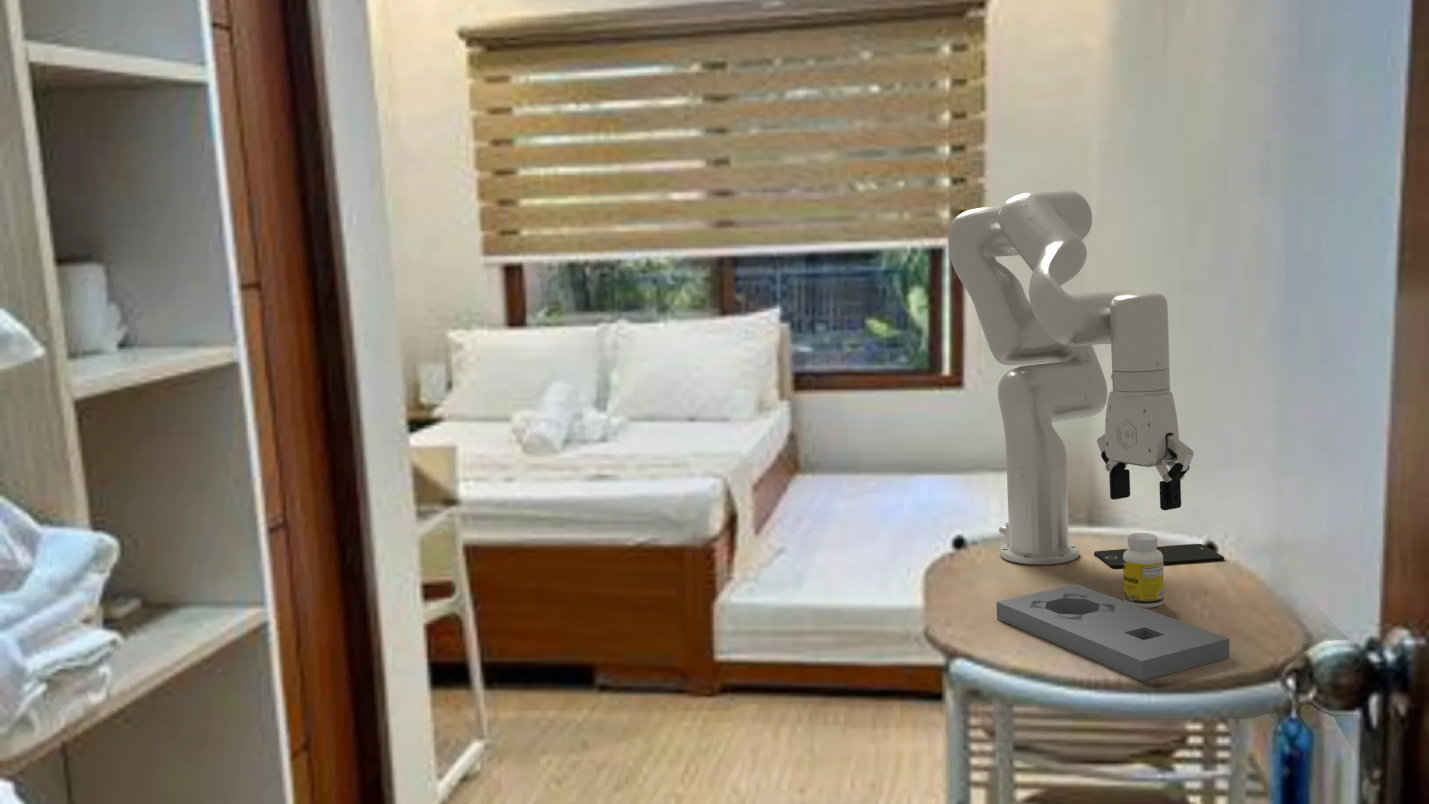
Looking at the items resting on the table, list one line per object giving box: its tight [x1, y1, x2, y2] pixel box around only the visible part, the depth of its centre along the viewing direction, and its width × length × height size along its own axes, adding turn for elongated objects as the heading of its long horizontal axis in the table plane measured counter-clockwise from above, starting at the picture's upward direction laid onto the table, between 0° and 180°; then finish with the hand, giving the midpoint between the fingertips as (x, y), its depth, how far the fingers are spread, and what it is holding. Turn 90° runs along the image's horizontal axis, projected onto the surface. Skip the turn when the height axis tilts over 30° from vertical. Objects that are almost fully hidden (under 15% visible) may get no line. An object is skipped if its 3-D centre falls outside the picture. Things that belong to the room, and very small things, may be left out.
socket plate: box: [996, 584, 1230, 682], centre depth 158 cm, size 28×14×2 cm, turn 24°
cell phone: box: [1093, 543, 1225, 570], centre depth 193 cm, size 9×18×1 cm, turn 92°
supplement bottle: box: [1122, 532, 1165, 609], centre depth 170 cm, size 5×5×10 cm
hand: (1144, 503), depth 168 cm, fingers open, 9 cm apart
